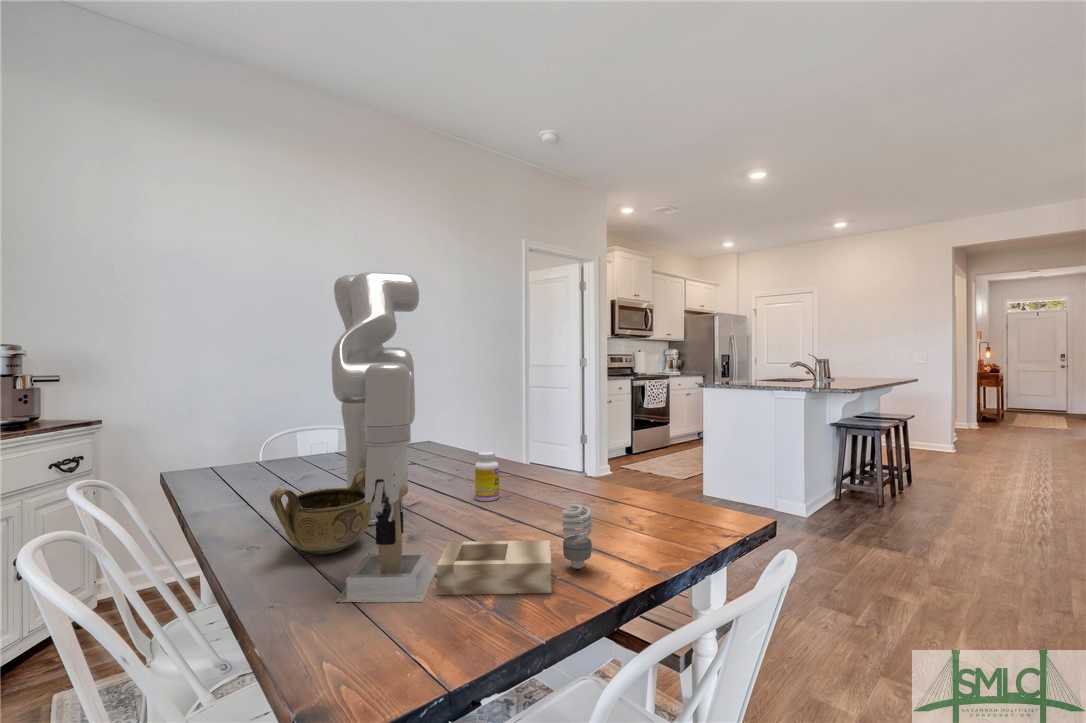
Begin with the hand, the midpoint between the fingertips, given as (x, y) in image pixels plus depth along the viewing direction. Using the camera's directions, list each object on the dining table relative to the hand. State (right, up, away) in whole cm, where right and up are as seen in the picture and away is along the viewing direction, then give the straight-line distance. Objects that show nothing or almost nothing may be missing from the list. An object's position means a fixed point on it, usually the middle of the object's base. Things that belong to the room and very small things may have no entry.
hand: (390, 537), depth 88 cm
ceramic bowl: (-18, -8, +17) cm, 26 cm away
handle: (0, -6, 0) cm, 6 cm away
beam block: (+19, -8, +1) cm, 20 cm away
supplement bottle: (+11, -8, +53) cm, 55 cm away
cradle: (0, -8, 0) cm, 8 cm away
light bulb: (+33, -8, +5) cm, 34 cm away
